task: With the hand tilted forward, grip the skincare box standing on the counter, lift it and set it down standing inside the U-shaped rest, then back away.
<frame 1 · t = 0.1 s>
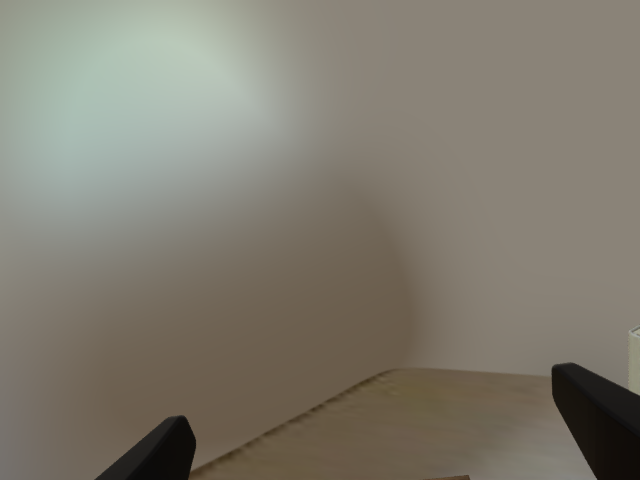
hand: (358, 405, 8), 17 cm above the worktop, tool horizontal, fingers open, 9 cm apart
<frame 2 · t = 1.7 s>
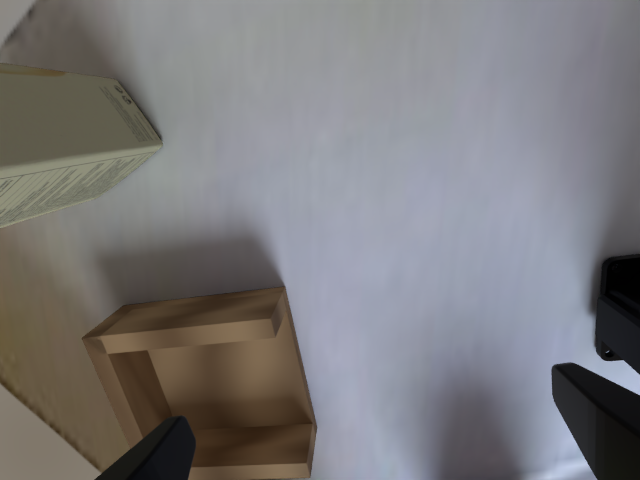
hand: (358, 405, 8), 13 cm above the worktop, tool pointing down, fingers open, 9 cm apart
skincare box: (106, 143, 20), on the worktop
u rest: (223, 368, 25), on the worktop
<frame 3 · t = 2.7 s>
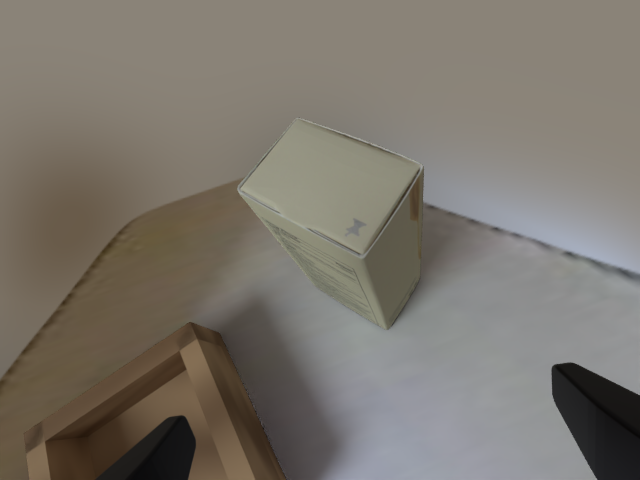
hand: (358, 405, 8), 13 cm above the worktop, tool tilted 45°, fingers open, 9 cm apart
skincare box: (363, 280, 24), on the worktop
u rest: (176, 464, 21), on the worktop
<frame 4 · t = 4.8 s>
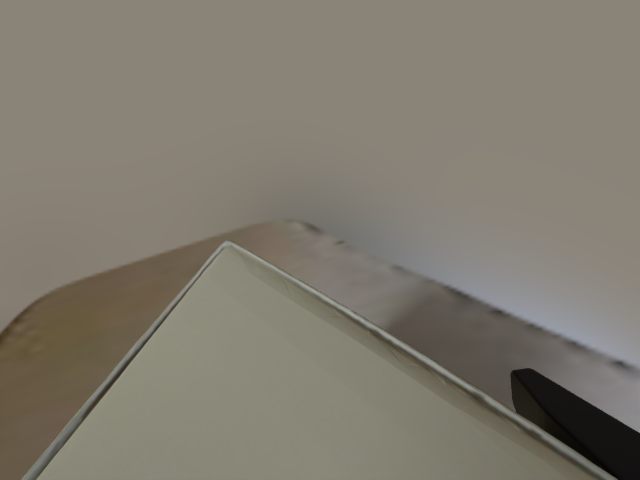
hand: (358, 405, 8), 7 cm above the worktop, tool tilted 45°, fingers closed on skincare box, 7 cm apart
skincare box: (385, 445, 14), on the worktop, touching gripper
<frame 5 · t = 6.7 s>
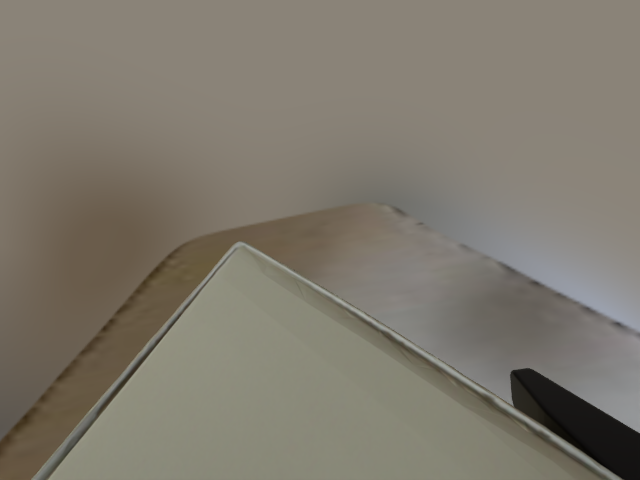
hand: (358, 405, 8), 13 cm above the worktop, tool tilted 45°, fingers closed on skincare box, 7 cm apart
skincare box: (383, 443, 14), point 6 cm above the worktop, touching gripper
when the fingers open (9 cm above the worktop, at t = 8.7 s): skincare box stays where it is, resting on u rest.
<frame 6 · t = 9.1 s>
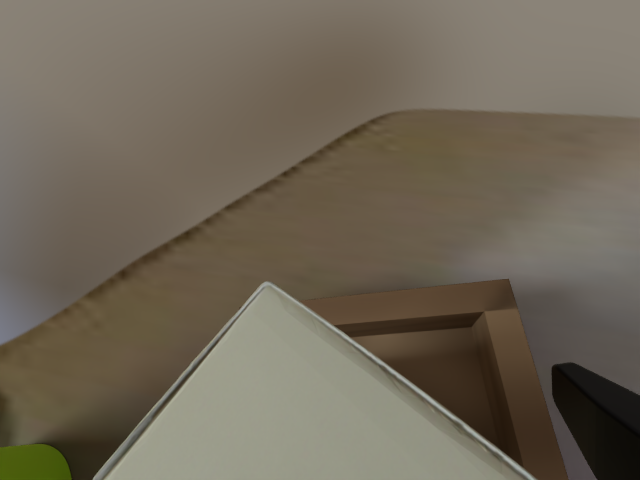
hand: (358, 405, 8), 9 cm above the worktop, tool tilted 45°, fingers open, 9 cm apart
skincare box: (384, 446, 15), point 1 cm above the worktop, touching u rest
u rest: (386, 440, 16), on the worktop
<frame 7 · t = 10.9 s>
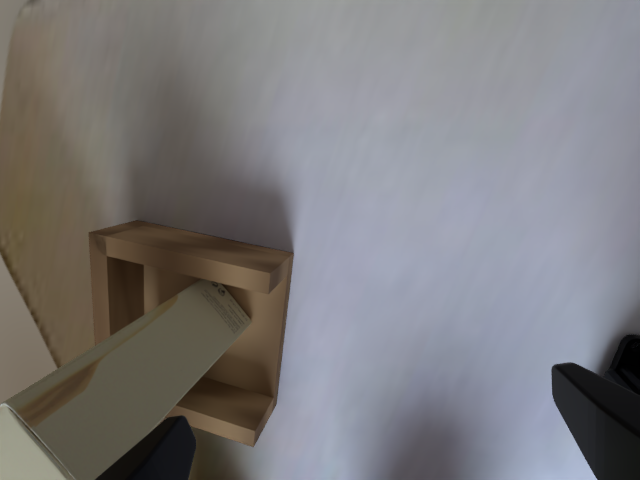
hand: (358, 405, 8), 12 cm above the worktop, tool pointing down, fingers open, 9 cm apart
skincare box: (205, 319, 24), point 1 cm above the worktop, touching u rest
u rest: (207, 313, 24), on the worktop
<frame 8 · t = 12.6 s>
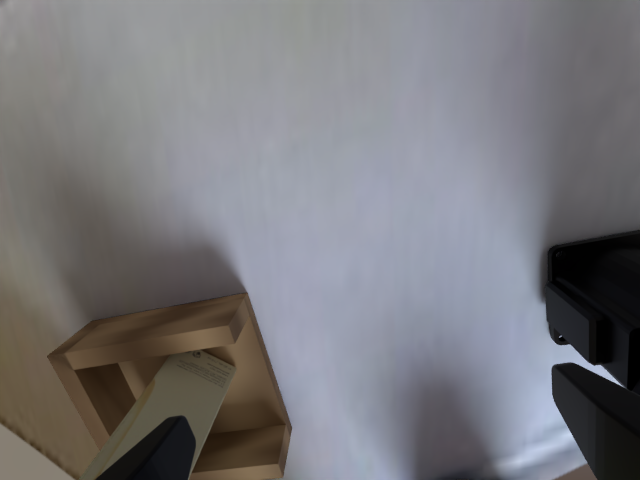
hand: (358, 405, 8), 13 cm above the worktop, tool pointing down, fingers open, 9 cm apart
skincare box: (194, 383, 24), point 1 cm above the worktop, touching u rest
u rest: (195, 376, 25), on the worktop
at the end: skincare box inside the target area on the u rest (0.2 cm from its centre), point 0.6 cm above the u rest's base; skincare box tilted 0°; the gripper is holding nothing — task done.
